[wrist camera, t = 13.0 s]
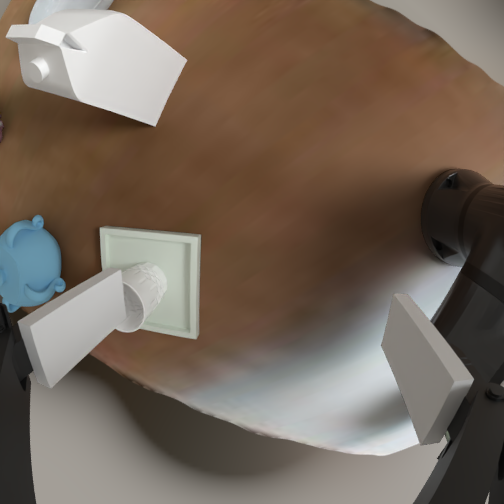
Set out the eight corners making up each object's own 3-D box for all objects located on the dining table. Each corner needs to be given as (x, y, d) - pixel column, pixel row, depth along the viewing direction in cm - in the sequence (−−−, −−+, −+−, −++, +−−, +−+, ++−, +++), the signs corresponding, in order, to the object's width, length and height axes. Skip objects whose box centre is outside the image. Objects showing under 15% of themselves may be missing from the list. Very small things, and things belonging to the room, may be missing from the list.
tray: (201, 234, 45) (197, 237, 43) (199, 334, 49) (196, 339, 47) (105, 225, 46) (99, 227, 44) (112, 316, 51) (107, 321, 49)
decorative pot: (81, 291, 50) (36, 322, 37) (33, 298, 53) (-7, 323, 40) (58, 208, 47) (5, 222, 34) (13, 226, 49) (-33, 241, 36)
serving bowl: (144, 8, 36) (126, -9, 29) (54, 71, 40) (31, 64, 33) (123, -47, 31) (108, -62, 25) (45, 8, 36) (26, 0, 29)
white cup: (147, 311, 49) (120, 340, 39) (120, 273, 47) (87, 296, 38) (180, 289, 47) (156, 318, 37) (151, 248, 45) (119, 268, 36)
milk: (187, 60, 38) (92, -25, 13) (155, 126, 41) (28, 97, 16) (127, 46, 38) (22, -15, 13) (98, 106, 41) (-25, 82, 16)
